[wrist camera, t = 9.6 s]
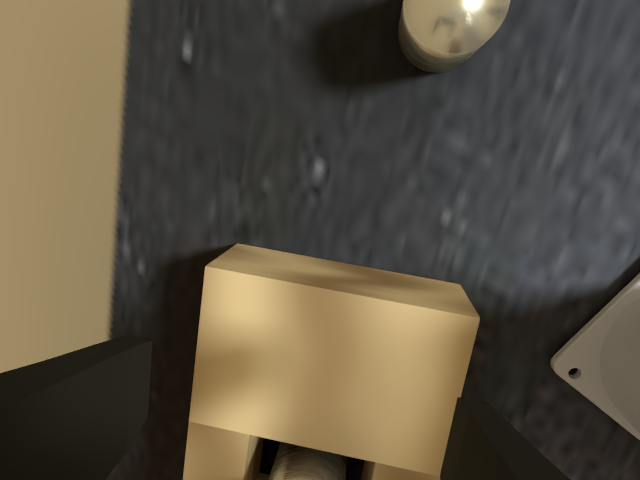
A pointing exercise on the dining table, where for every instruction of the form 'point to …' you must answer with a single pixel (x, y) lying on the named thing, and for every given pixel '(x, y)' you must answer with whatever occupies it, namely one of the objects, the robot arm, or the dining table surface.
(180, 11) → the dining table surface
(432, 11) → the short pin
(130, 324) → the dining table surface
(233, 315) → the pin block
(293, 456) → the tall pin
